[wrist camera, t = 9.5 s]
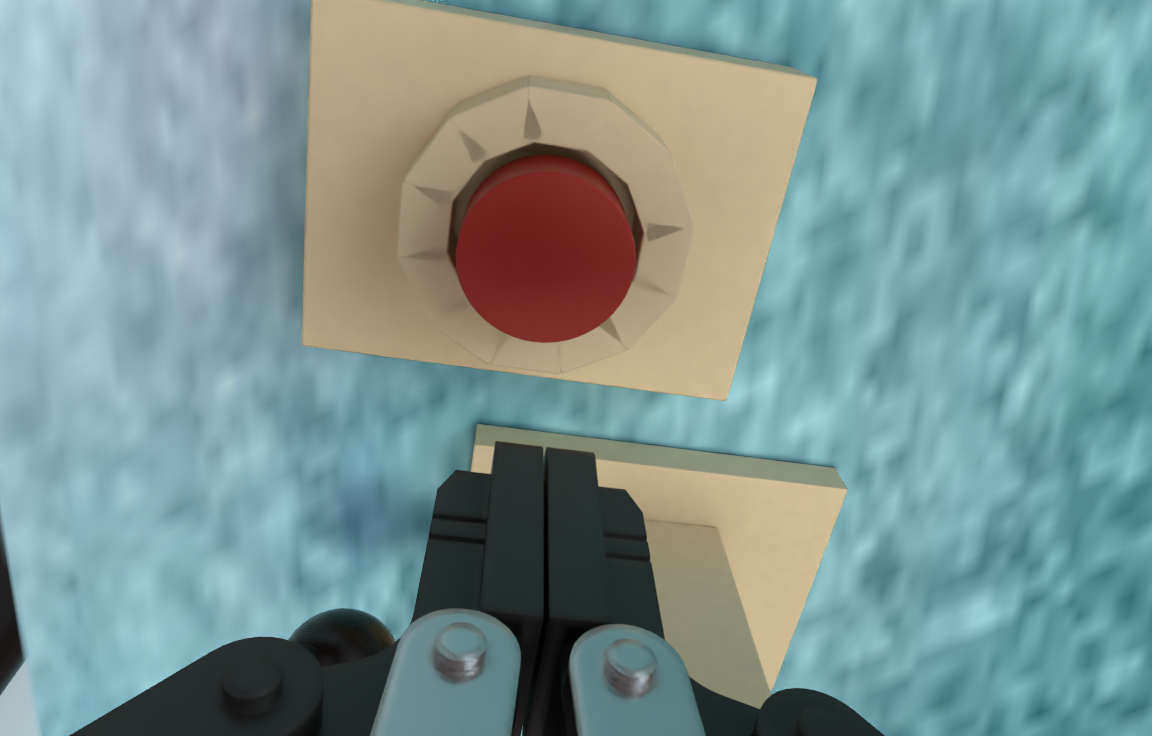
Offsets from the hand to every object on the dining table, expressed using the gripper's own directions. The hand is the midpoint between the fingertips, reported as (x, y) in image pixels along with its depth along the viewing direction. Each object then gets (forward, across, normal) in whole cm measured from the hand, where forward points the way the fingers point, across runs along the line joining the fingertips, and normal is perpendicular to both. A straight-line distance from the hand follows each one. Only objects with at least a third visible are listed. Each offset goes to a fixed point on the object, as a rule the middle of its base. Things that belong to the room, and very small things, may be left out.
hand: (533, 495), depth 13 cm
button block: (+12, 0, -1) cm, 13 cm away
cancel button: (+9, 0, -1) cm, 9 cm away
